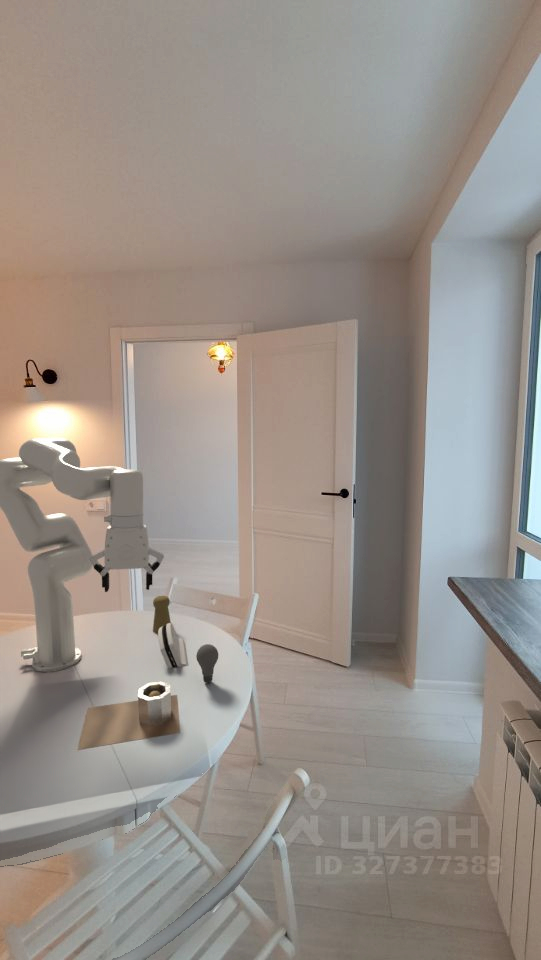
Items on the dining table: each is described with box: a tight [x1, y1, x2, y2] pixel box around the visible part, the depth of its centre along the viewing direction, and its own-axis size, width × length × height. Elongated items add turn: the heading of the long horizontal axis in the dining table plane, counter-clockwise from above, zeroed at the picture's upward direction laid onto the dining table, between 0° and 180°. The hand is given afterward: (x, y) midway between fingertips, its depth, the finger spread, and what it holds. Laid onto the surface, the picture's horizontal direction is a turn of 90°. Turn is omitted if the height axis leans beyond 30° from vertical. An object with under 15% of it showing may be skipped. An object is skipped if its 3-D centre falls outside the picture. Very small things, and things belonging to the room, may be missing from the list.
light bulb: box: [196, 643, 219, 684], centre depth 115 cm, size 6×6×10 cm
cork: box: [152, 595, 172, 635], centre depth 146 cm, size 6×6×11 cm
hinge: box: [157, 622, 189, 669], centre depth 128 cm, size 17×5×10 cm, turn 14°
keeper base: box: [77, 691, 181, 751], centre depth 98 cm, size 20×14×7 cm
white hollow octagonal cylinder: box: [137, 681, 172, 727], centre depth 99 cm, size 7×7×6 cm
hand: (127, 588), depth 111 cm, fingers open, 9 cm apart
